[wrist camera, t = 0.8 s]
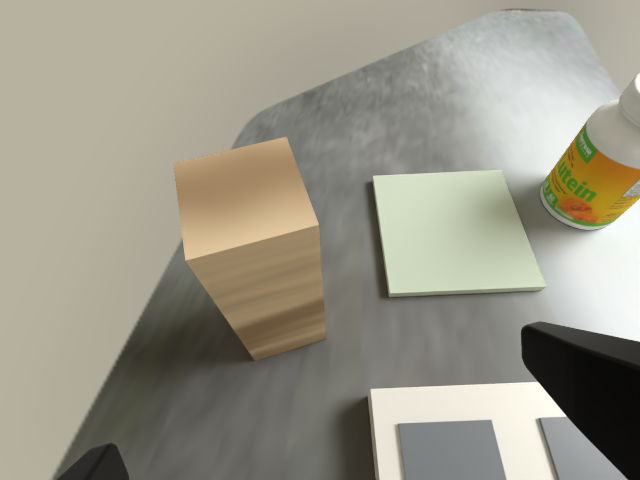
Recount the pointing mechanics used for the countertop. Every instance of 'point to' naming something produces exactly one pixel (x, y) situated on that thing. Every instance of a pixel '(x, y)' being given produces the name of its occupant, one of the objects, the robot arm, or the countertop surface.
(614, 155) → the supplement bottle
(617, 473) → the label panel
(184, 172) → the oak post
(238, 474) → the countertop surface
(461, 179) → the mat
